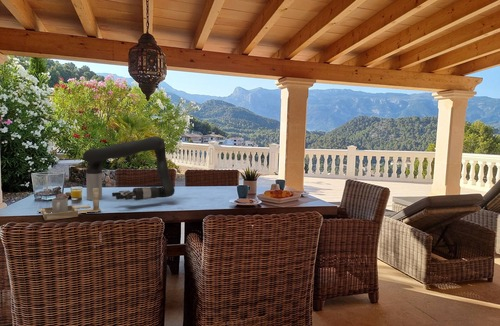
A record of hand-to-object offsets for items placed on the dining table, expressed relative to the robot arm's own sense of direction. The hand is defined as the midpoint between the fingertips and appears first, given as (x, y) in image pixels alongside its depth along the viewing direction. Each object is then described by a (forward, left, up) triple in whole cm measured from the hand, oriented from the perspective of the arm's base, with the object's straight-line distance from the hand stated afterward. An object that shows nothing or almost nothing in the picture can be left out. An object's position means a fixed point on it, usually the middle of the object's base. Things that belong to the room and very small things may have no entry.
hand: (114, 196), depth 192 cm
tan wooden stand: (0, -22, -8) cm, 23 cm away
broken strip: (-13, -24, -8) cm, 28 cm away
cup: (0, -28, -8) cm, 29 cm away
